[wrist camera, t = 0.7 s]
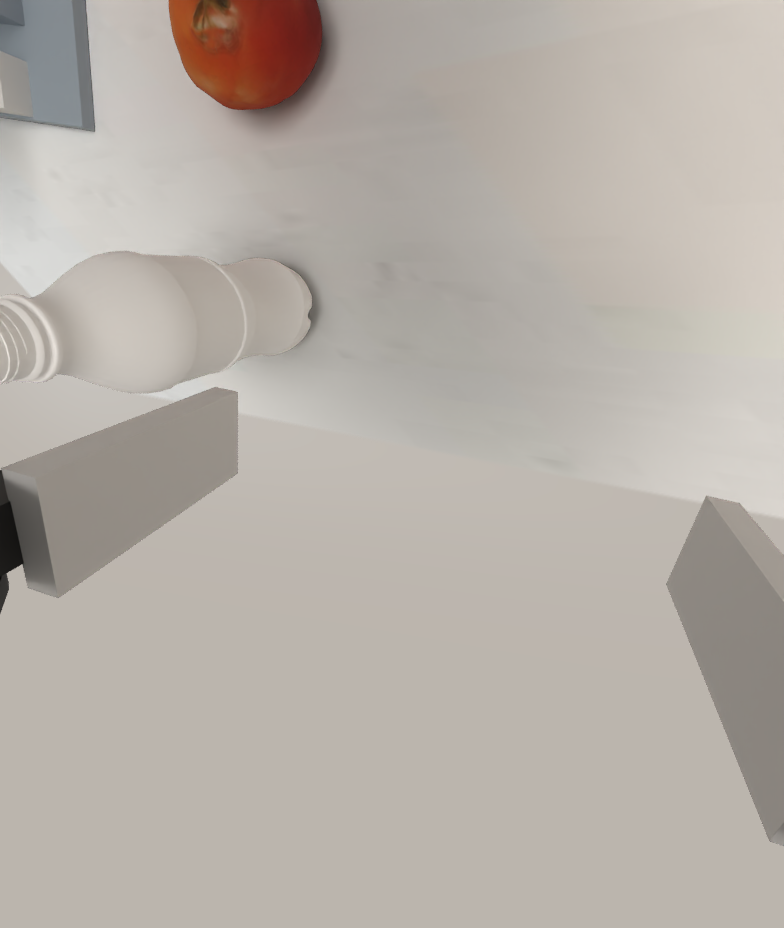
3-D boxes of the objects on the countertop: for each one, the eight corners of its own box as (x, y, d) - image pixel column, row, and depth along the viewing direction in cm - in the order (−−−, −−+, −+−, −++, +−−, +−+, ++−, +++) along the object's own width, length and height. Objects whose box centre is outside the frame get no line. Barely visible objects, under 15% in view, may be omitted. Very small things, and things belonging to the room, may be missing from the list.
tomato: (204, 102, 36) (123, 60, 29) (229, -57, 32) (142, -151, 25) (313, 146, 35) (257, 115, 28) (353, -11, 32) (299, -95, 24)
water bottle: (276, 238, 39) (-84, 191, 16) (339, 305, 39) (77, 349, 17) (229, 306, 42) (-128, 345, 19) (288, 367, 42) (9, 473, 20)
